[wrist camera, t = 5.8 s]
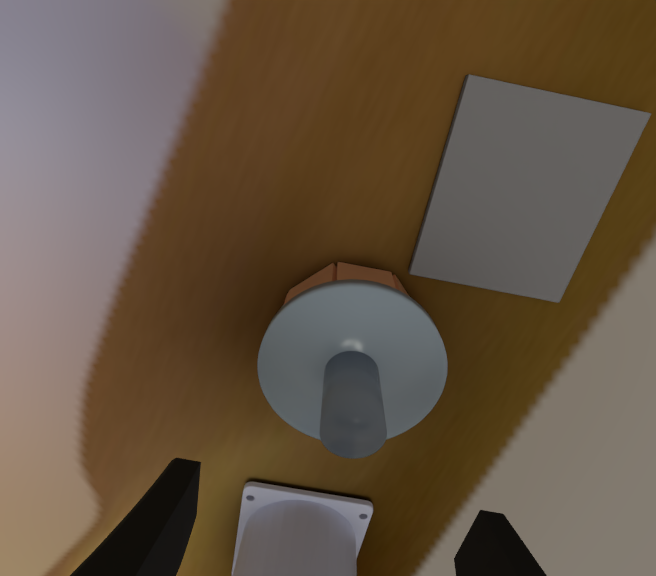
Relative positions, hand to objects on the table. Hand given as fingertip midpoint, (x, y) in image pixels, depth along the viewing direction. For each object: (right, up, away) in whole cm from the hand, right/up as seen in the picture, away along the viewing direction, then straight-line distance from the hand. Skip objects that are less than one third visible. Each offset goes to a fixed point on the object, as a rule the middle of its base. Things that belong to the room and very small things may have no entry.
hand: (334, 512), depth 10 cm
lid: (+1, +3, +6) cm, 7 cm away
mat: (+8, +9, +6) cm, 14 cm away
